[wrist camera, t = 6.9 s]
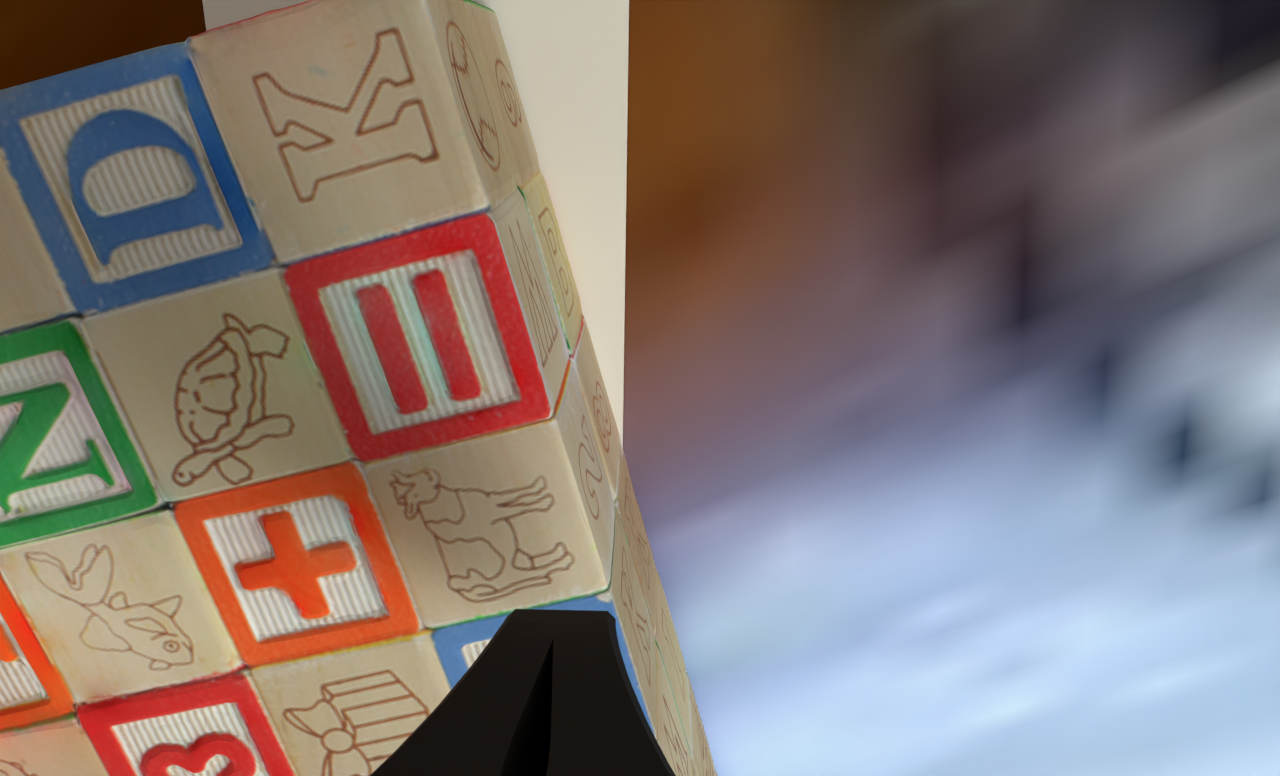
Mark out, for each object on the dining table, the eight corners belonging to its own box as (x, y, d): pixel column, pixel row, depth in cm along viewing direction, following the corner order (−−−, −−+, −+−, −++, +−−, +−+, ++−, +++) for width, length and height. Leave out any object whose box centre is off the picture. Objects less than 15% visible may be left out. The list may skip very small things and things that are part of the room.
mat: (630, -125, 16) (630, -128, 16) (617, 822, 23) (616, 831, 23) (192, -134, 16) (184, -138, 16) (313, 816, 23) (309, 825, 23)
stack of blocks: (783, 1118, 17) (206, 1215, 18) (749, 853, 23) (314, 939, 24) (407, -47, 11) (-463, 222, 12) (493, -1, 16) (-90, 175, 18)
